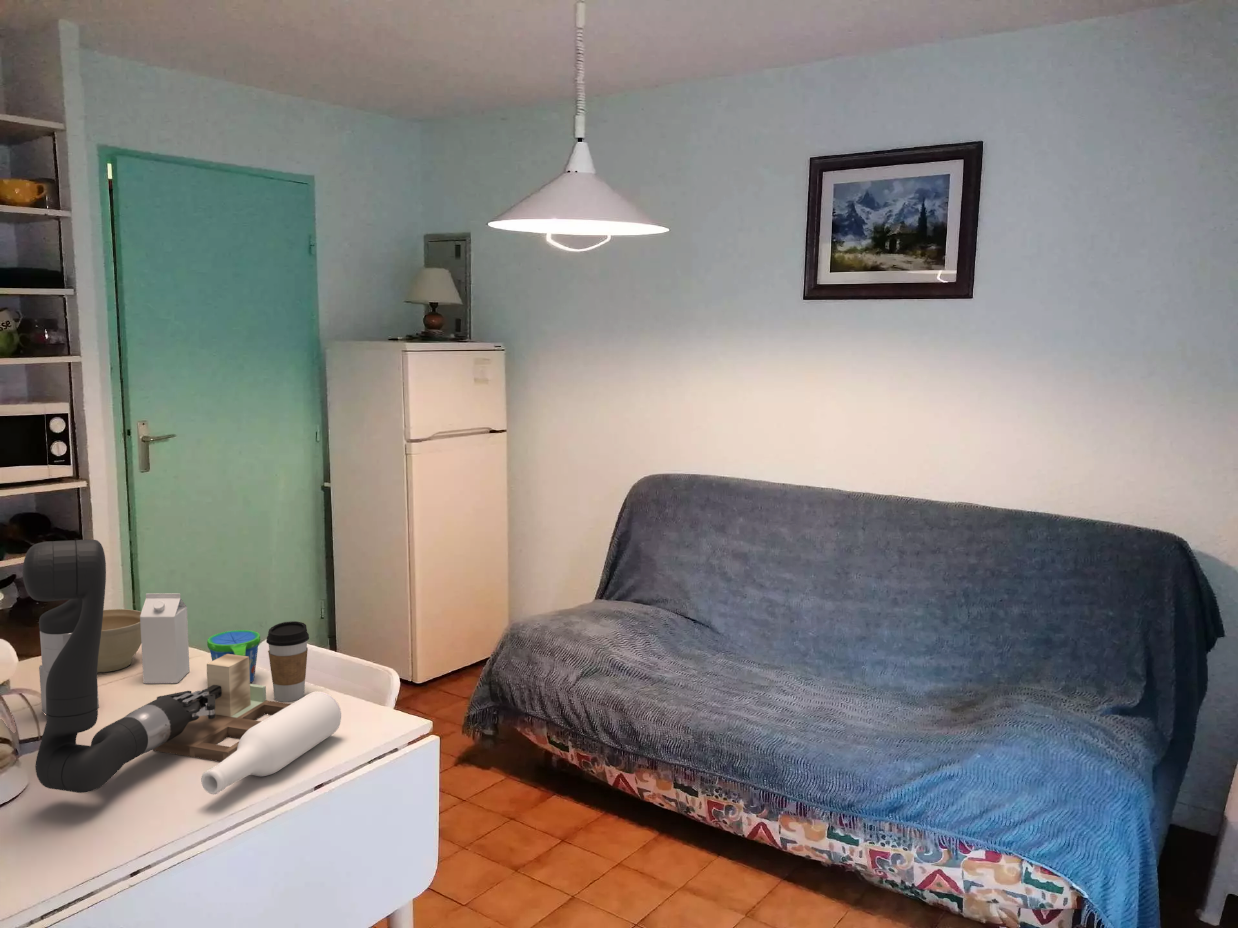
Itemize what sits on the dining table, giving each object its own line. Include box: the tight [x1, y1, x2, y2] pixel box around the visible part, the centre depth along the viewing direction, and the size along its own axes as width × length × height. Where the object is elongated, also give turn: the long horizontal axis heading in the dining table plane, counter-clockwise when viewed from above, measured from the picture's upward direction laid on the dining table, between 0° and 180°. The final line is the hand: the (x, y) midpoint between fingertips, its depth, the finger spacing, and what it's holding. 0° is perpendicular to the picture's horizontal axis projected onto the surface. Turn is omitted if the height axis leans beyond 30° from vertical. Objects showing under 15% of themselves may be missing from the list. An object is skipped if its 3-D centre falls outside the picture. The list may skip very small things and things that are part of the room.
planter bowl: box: [97, 608, 142, 674], centre depth 209 cm, size 16×16×11 cm
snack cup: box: [206, 629, 261, 683], centre depth 202 cm, size 16×10×10 cm
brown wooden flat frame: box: [152, 699, 292, 763], centre depth 178 cm, size 22×16×2 cm
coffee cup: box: [265, 620, 310, 703], centre depth 194 cm, size 8×8×15 cm
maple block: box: [206, 654, 251, 717], centre depth 183 cm, size 6×5×10 cm
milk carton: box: [140, 592, 190, 684], centre depth 203 cm, size 7×7×19 cm
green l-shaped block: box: [231, 683, 267, 718], centre depth 185 cm, size 9×8×5 cm
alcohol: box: [200, 691, 342, 795], centre depth 163 cm, size 9×9×30 cm
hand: (217, 689), depth 180 cm, fingers closed
